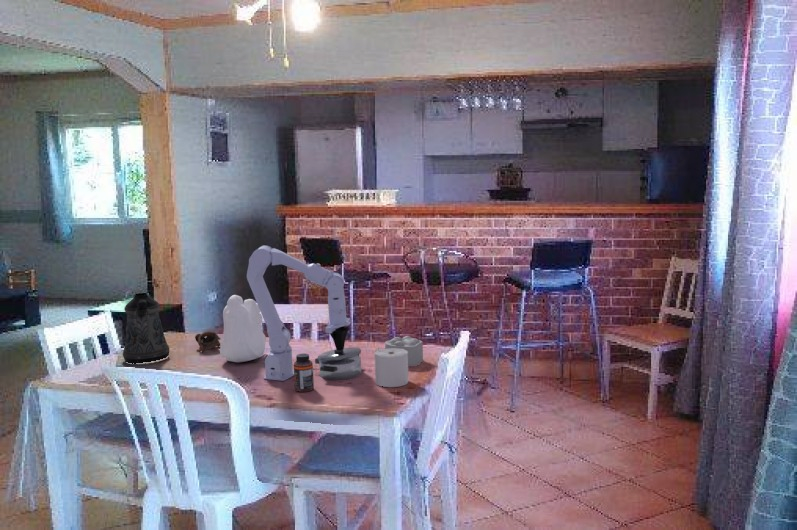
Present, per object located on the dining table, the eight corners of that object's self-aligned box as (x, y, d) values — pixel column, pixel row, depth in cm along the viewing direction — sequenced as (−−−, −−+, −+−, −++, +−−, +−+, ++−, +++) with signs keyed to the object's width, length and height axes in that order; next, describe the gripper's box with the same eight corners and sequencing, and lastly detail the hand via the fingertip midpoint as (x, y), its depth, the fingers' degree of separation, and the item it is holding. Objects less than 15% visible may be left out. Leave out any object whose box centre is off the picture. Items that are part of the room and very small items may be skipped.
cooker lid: (349, 361, 231) (347, 353, 231) (309, 363, 237) (308, 356, 237) (368, 349, 245) (367, 342, 244) (330, 352, 251) (329, 345, 250)
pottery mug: (227, 348, 283) (224, 333, 278) (212, 364, 276) (209, 348, 271) (203, 338, 287) (200, 323, 282) (188, 354, 281) (184, 338, 276)
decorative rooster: (246, 369, 251) (241, 299, 247) (210, 365, 257) (205, 297, 254) (286, 351, 273) (283, 287, 270) (252, 348, 280) (248, 285, 276)
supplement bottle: (293, 388, 227) (291, 353, 226) (311, 385, 229) (309, 351, 228) (297, 393, 222) (295, 358, 220) (316, 391, 224) (314, 355, 222)
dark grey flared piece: (157, 351, 280) (152, 288, 276) (181, 359, 266) (176, 293, 263) (115, 360, 269) (110, 294, 265) (139, 369, 255) (133, 300, 251)
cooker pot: (346, 383, 230) (345, 368, 230) (303, 379, 237) (303, 364, 236) (371, 367, 248) (370, 353, 247) (330, 364, 254) (330, 350, 253)
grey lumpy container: (414, 367, 246) (414, 343, 245) (380, 364, 251) (379, 340, 250) (425, 359, 255) (424, 336, 254) (392, 357, 260) (391, 333, 259)
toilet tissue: (400, 389, 223) (399, 358, 222) (366, 385, 228) (364, 354, 227) (414, 379, 233) (413, 349, 231) (381, 376, 238) (380, 346, 236)
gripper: (337, 314, 231) (340, 355, 232) (357, 305, 244) (360, 344, 246) (318, 314, 233) (321, 354, 235) (339, 305, 247) (342, 343, 248)
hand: (340, 349), depth 241 cm, fingers closed, pressing on cooker lid
